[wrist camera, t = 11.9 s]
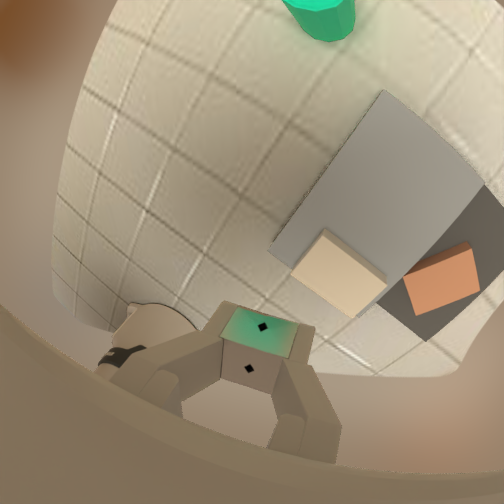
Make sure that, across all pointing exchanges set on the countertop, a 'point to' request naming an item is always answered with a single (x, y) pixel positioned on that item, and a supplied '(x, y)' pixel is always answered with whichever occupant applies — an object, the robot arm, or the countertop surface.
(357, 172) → the platform
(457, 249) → the terracotta tile
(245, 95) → the countertop surface
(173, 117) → the countertop surface
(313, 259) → the cream tile
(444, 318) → the mat
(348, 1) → the candle
